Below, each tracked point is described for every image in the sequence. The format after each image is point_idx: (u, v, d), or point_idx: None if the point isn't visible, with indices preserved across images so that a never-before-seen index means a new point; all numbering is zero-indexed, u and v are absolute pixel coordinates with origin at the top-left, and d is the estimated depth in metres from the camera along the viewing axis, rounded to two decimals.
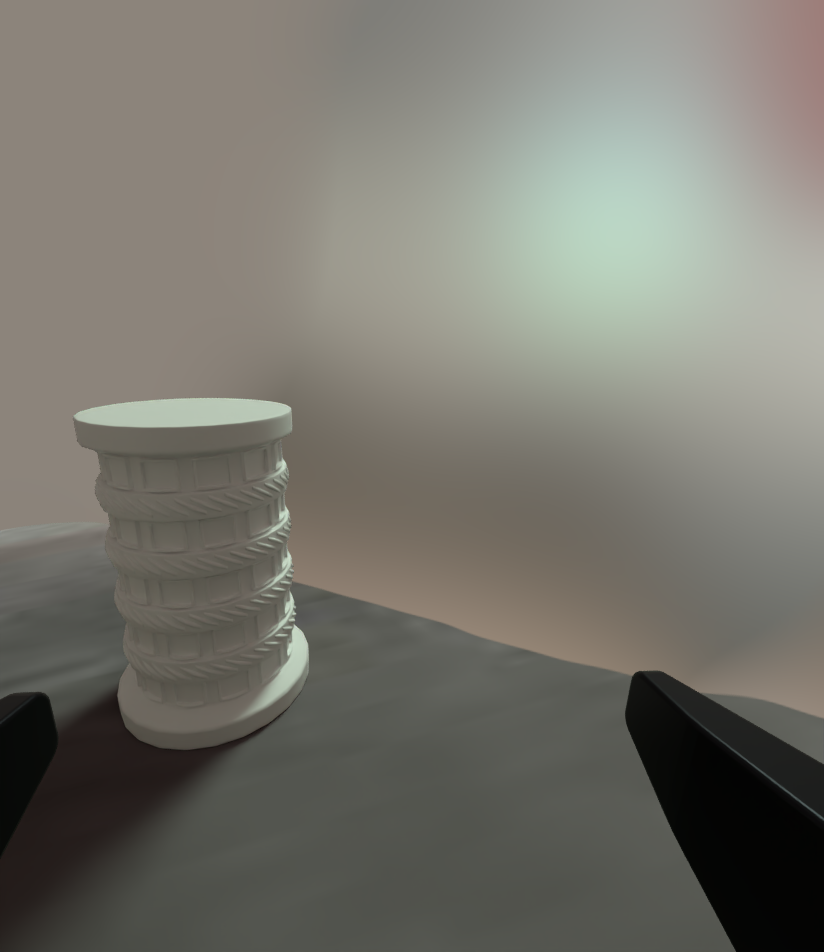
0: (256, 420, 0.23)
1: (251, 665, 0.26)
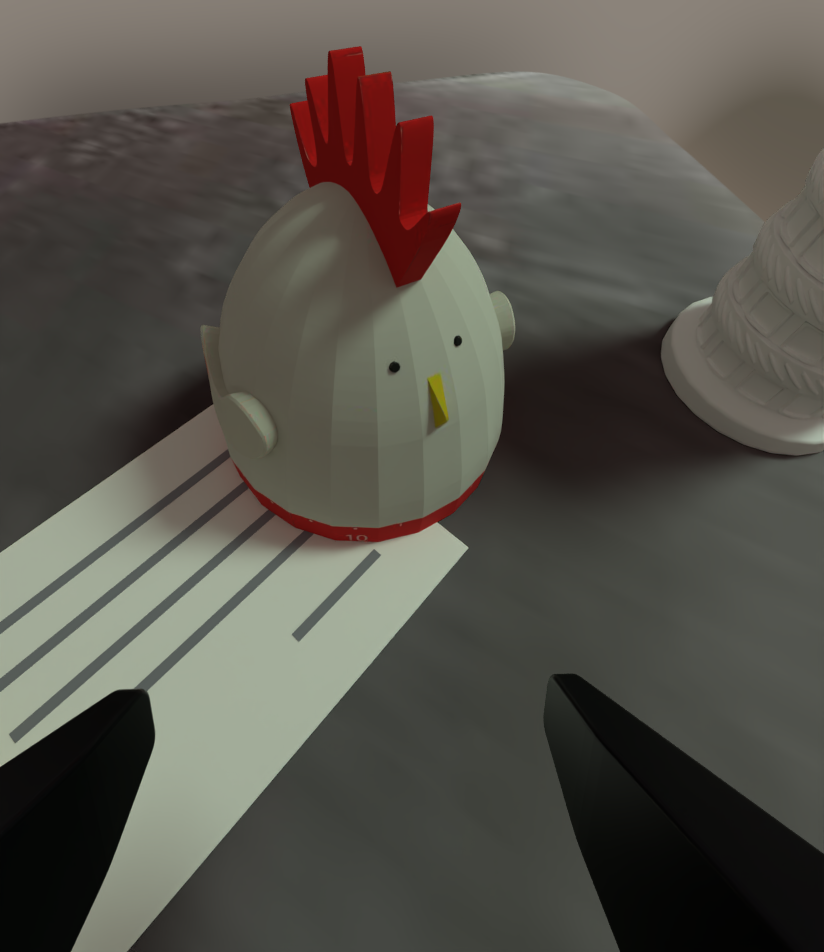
0: None
1: None
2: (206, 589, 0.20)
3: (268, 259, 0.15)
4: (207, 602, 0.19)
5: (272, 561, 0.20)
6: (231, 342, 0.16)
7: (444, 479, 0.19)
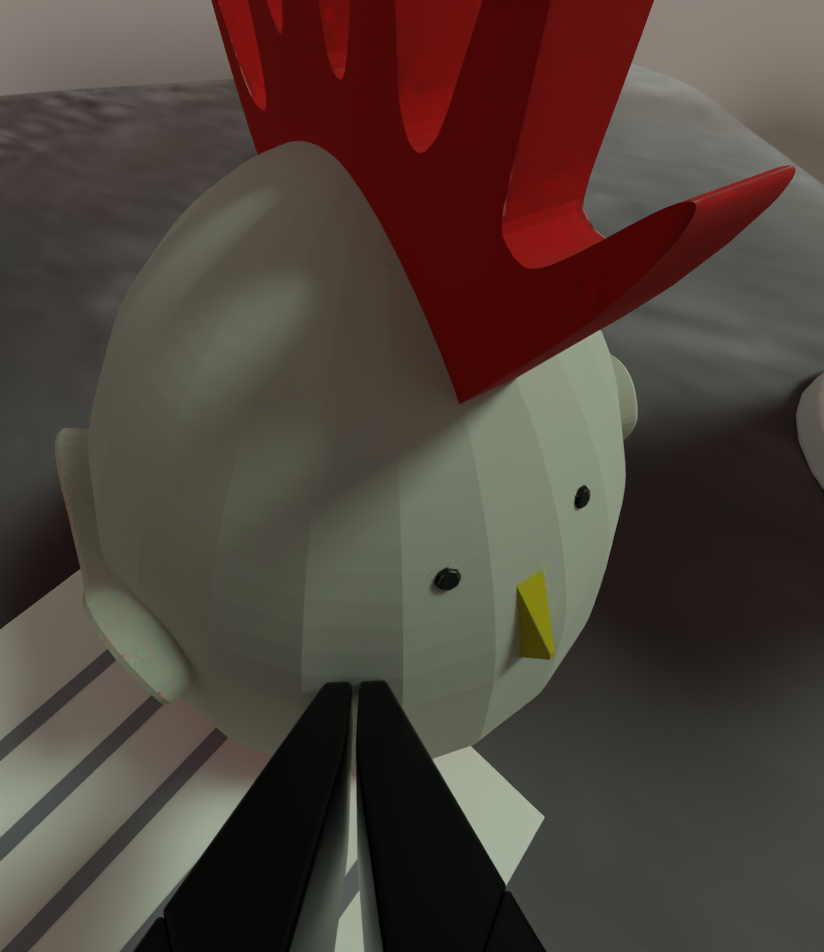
0: None
1: None
2: (69, 936, 0.11)
3: (148, 323, 0.06)
4: None
5: None
6: (95, 485, 0.08)
7: (518, 703, 0.10)
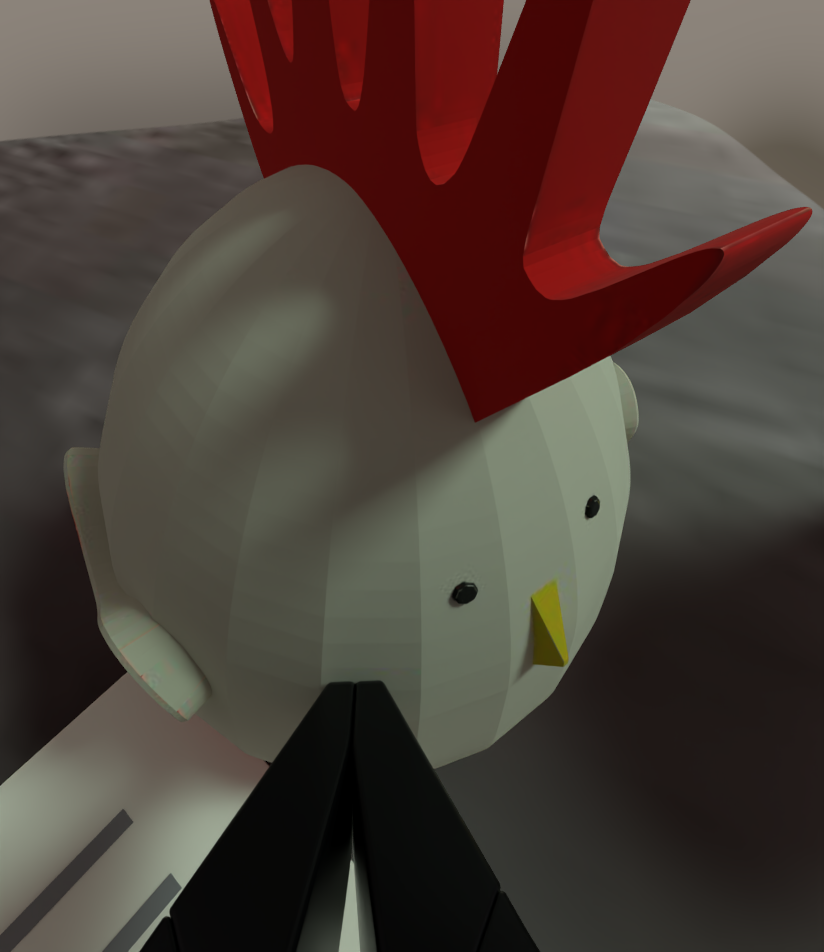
0: None
1: None
2: None
3: (162, 347, 0.06)
4: None
5: None
6: (108, 505, 0.08)
7: (529, 707, 0.10)
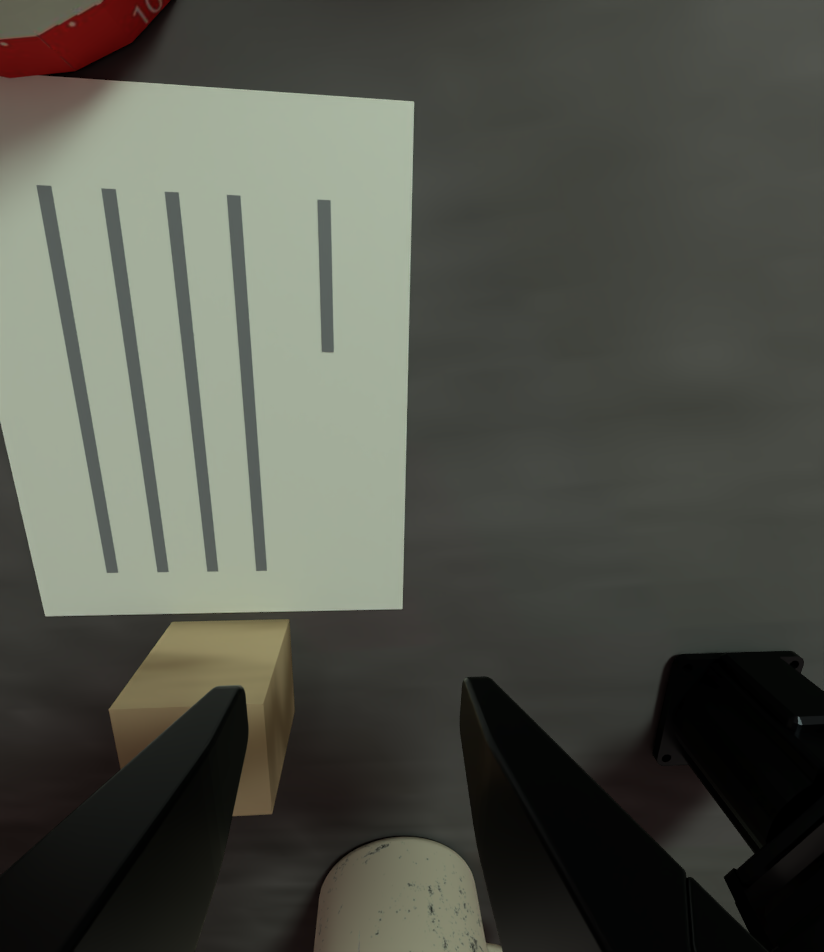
0: None
1: None
2: (211, 380, 0.17)
3: None
4: (225, 388, 0.17)
5: (237, 304, 0.16)
6: None
7: None
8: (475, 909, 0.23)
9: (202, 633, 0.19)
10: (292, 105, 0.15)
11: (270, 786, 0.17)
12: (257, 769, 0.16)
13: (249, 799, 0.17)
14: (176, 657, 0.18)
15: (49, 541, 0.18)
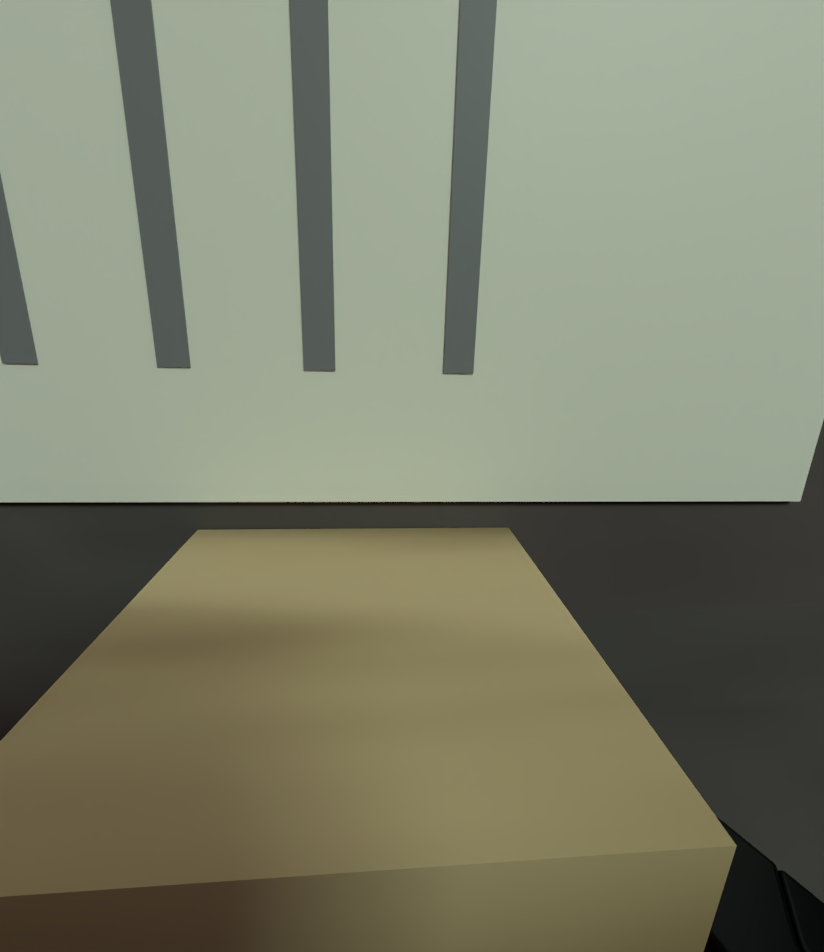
0: None
1: None
2: None
3: None
4: None
5: None
6: None
7: None
8: None
9: (290, 557, 0.06)
10: None
11: None
12: None
13: None
14: (223, 619, 0.05)
15: None
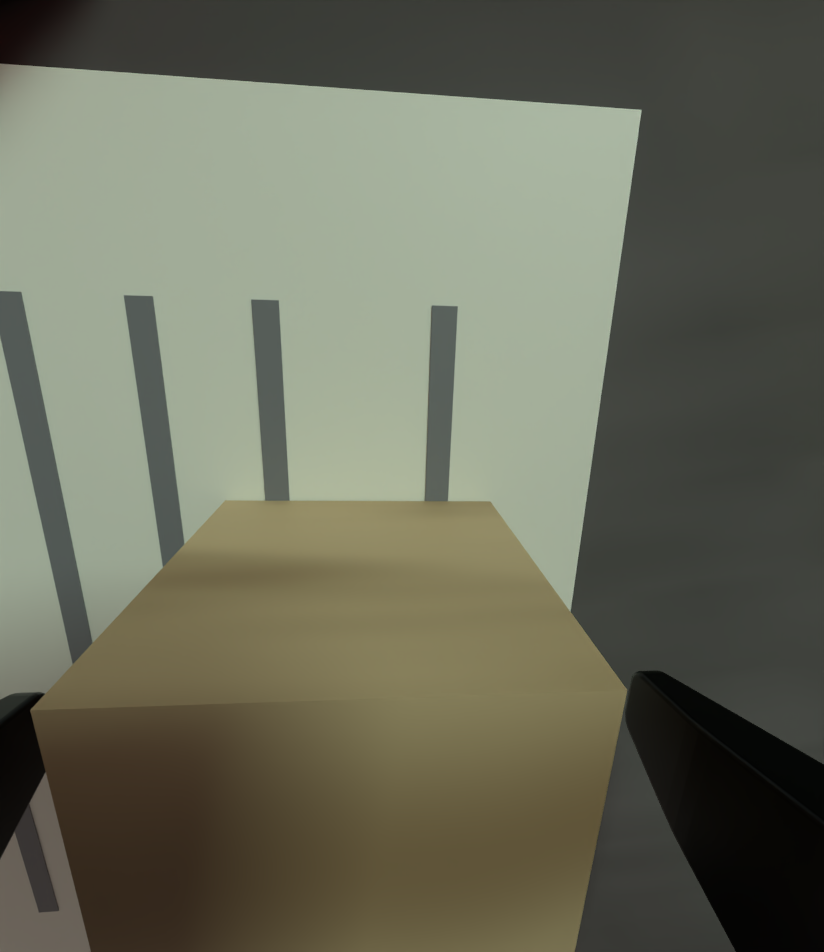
0: None
1: None
2: None
3: None
4: None
5: (268, 496, 0.08)
6: None
7: None
8: None
9: (306, 520, 0.08)
10: (393, 118, 0.07)
11: None
12: (548, 912, 0.05)
13: None
14: (256, 561, 0.06)
15: None
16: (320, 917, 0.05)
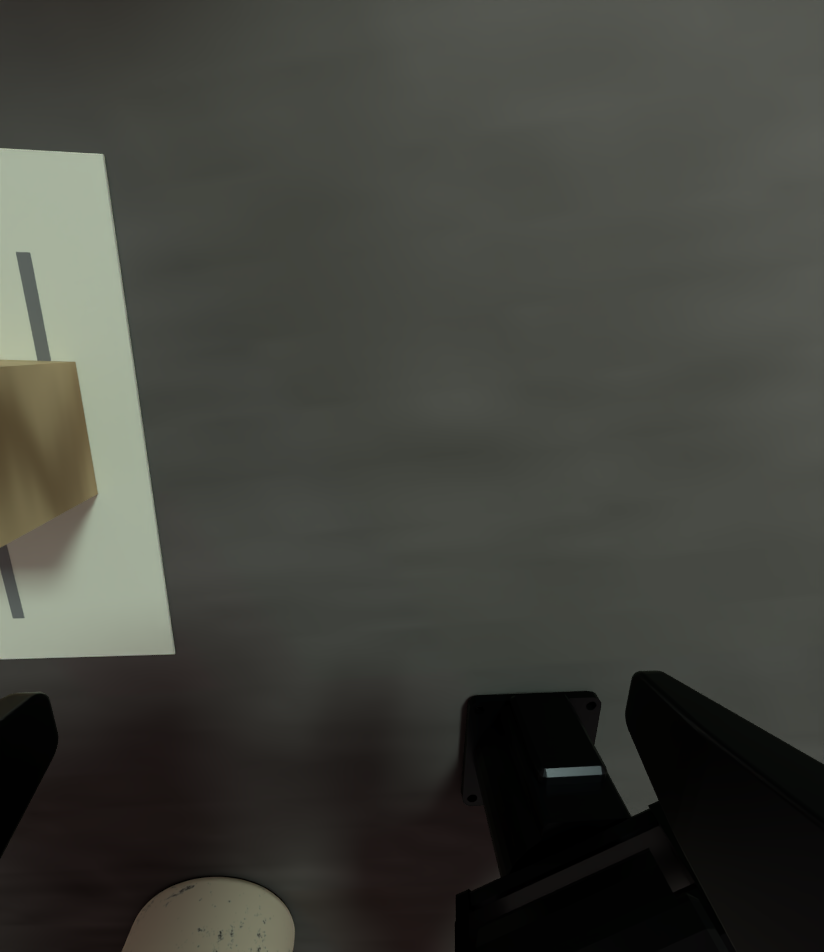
0: None
1: None
2: None
3: None
4: None
5: None
6: None
7: None
8: None
9: None
10: None
11: None
12: None
13: None
14: None
15: None
16: None
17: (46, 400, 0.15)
